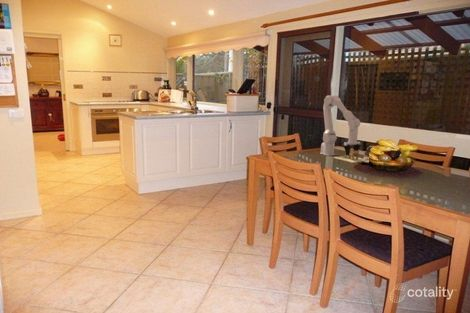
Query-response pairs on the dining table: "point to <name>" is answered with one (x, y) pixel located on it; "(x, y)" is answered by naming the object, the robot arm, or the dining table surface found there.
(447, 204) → the dining table surface
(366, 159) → the stone
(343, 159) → the mat
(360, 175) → the dining table surface
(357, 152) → the stool
